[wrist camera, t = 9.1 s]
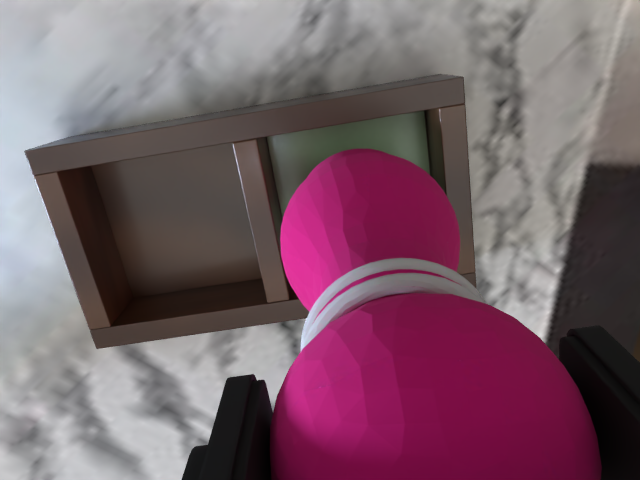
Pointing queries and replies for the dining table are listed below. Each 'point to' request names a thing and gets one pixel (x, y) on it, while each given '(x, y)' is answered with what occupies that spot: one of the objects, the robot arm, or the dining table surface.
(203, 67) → the dining table surface
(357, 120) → the holder
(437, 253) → the pepper mill
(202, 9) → the dining table surface
